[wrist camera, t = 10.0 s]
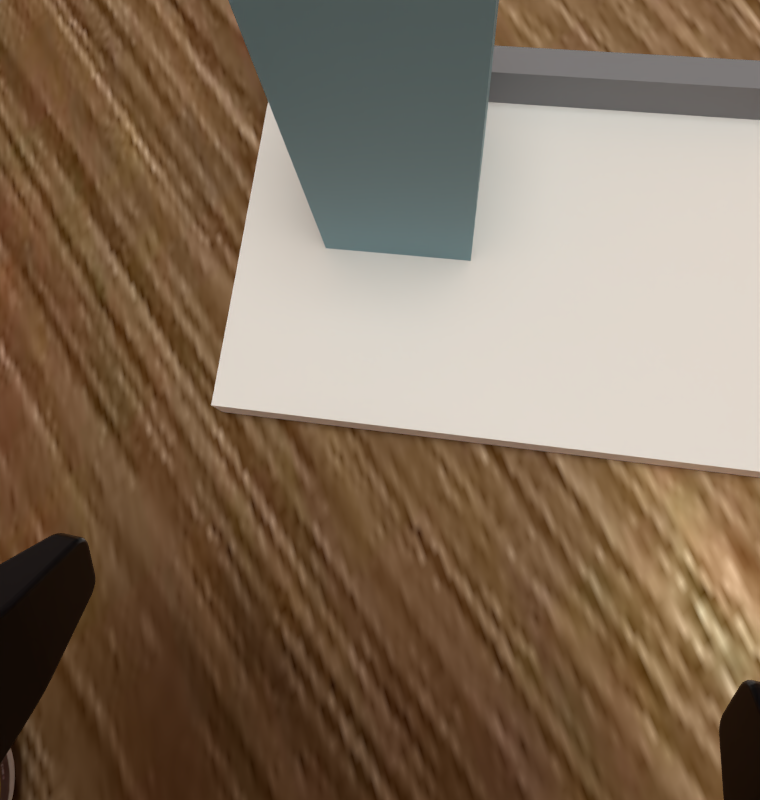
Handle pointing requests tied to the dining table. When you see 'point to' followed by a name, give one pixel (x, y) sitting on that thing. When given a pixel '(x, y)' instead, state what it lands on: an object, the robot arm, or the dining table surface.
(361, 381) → the white base plate
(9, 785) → the supplement bottle
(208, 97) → the dining table surface
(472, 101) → the carton
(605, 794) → the dining table surface
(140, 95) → the dining table surface
